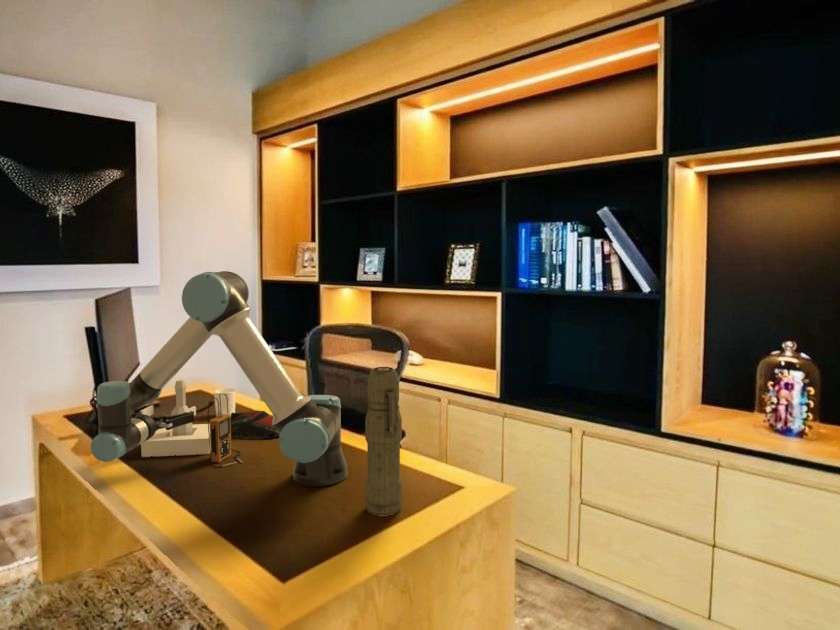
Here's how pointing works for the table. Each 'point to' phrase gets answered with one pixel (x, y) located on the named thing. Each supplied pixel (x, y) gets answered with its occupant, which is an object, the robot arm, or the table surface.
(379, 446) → the thermos
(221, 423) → the multimeter
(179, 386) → the low poly bottle
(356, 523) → the table surface
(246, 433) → the drone shell
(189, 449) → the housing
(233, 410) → the white cup
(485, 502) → the table surface
